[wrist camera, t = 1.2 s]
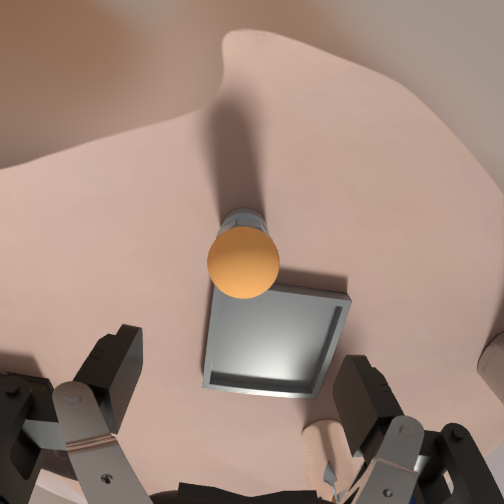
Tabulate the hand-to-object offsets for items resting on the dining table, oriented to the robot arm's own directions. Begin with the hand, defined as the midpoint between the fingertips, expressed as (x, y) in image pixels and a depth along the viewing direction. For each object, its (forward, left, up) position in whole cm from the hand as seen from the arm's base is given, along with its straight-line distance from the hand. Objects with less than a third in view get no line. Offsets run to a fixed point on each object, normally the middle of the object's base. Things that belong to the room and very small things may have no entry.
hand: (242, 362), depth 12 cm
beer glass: (-16, +28, -20) cm, 38 cm away
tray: (-5, +12, -20) cm, 24 cm away
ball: (0, 0, -11) cm, 11 cm away
